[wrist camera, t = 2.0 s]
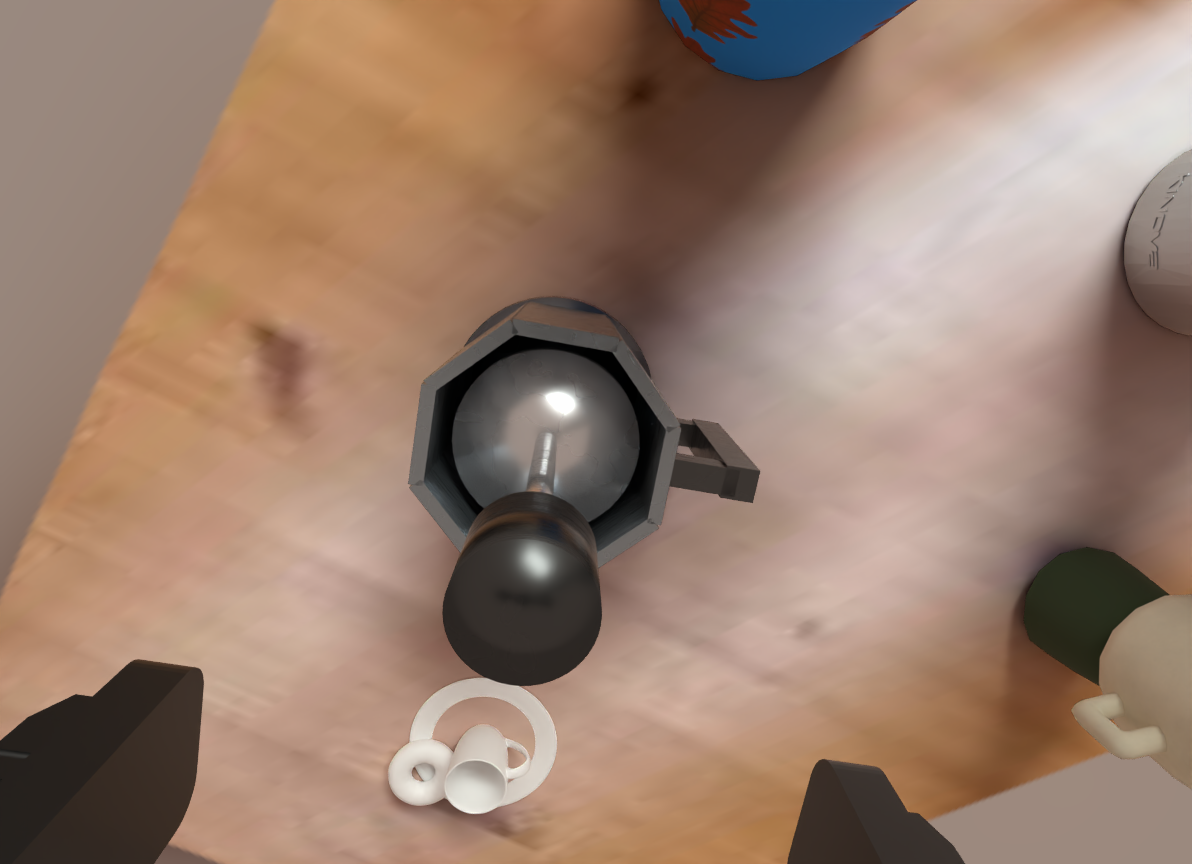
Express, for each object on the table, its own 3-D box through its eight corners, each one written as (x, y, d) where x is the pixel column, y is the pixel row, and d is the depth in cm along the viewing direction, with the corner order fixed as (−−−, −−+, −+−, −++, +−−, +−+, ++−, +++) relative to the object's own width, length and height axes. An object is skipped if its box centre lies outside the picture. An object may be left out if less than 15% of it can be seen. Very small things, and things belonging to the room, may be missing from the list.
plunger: (653, 365, 28) (736, 473, 14) (619, 537, 30) (662, 793, 15) (469, 332, 28) (362, 409, 13) (443, 509, 29) (322, 746, 15)
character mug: (980, 681, 42) (1159, 867, 29) (962, 563, 40) (1143, 704, 27) (1178, 633, 41) (1447, 799, 29) (1168, 512, 40) (1447, 630, 27)
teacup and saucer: (390, 792, 42) (371, 847, 39) (402, 663, 41) (385, 707, 37) (547, 808, 43) (544, 864, 39) (566, 681, 41) (565, 726, 37)
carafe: (725, 326, 37) (793, 356, 25) (684, 513, 39) (731, 618, 28) (469, 279, 36) (421, 289, 25) (441, 473, 38) (385, 565, 27)
